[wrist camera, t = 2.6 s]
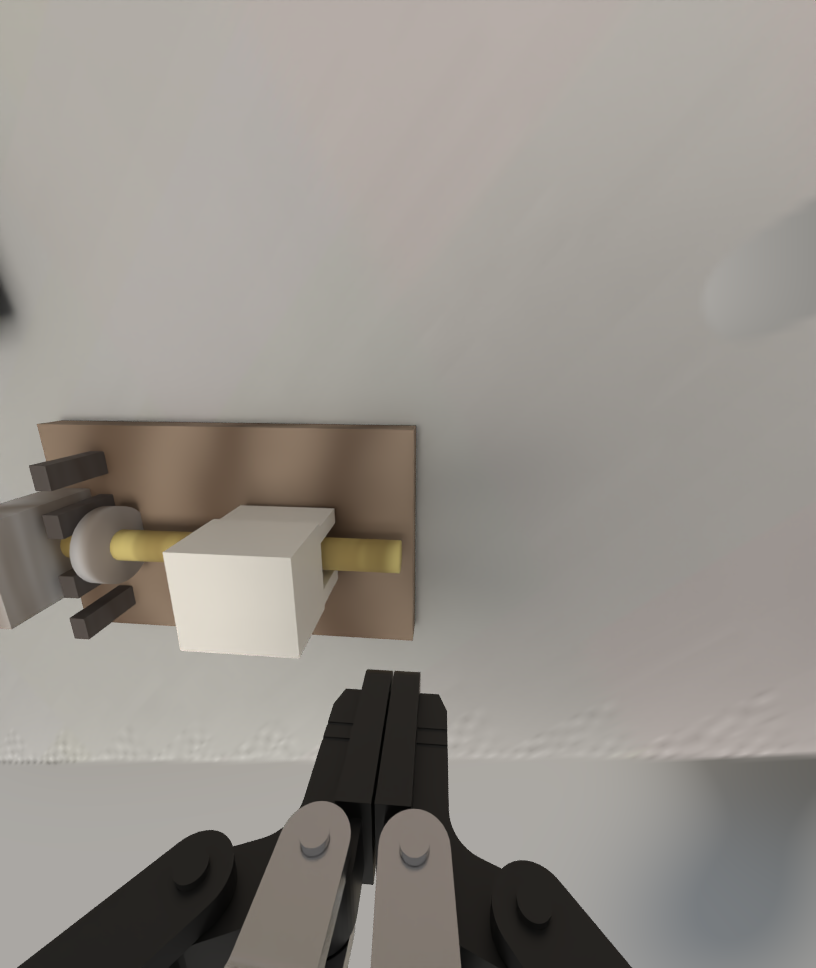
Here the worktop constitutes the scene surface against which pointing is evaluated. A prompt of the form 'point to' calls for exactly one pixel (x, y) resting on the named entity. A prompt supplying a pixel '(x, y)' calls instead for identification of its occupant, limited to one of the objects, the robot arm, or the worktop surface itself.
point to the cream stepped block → (251, 581)
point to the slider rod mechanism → (207, 516)
